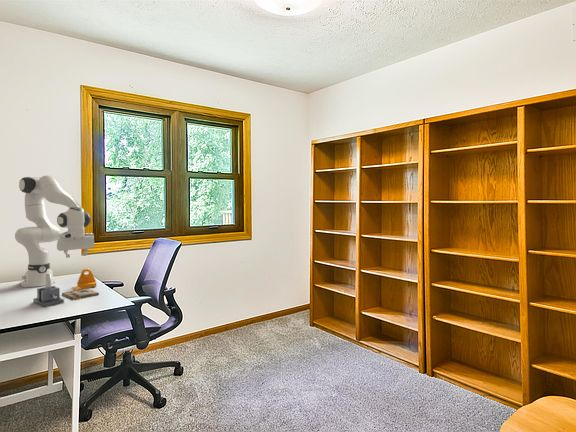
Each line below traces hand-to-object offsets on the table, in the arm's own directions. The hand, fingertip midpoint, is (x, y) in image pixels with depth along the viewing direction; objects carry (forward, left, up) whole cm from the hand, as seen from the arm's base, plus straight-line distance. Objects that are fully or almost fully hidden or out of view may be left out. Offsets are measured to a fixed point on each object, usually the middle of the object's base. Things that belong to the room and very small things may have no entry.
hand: (76, 256), depth 215 cm
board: (+5, 0, -23) cm, 23 cm away
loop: (+5, 0, -22) cm, 22 cm away
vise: (+10, -18, -23) cm, 31 cm away
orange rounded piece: (-12, +11, -23) cm, 28 cm away
